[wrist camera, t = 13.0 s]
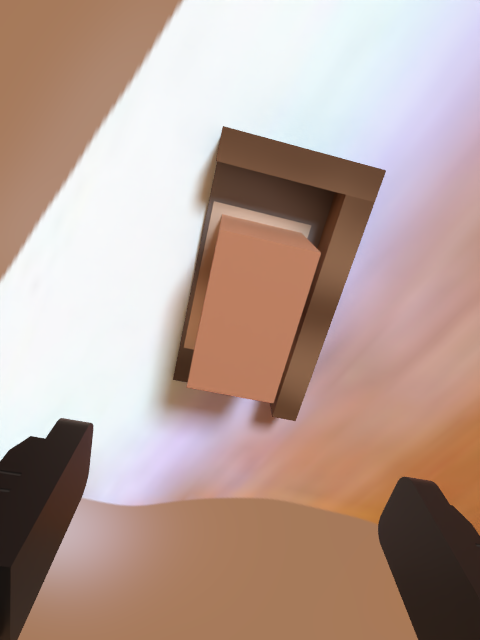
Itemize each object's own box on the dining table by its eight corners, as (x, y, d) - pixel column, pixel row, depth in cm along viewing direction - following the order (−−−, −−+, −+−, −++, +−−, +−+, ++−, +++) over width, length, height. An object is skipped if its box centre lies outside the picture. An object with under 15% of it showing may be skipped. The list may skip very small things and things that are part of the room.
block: (301, 232, 21) (321, 252, 17) (265, 357, 24) (273, 403, 20) (222, 214, 21) (219, 229, 16) (195, 343, 24) (186, 387, 19)
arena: (289, 398, 26) (295, 421, 24) (173, 376, 25) (168, 397, 23) (369, 169, 20) (386, 170, 18) (223, 130, 20) (222, 126, 17)
